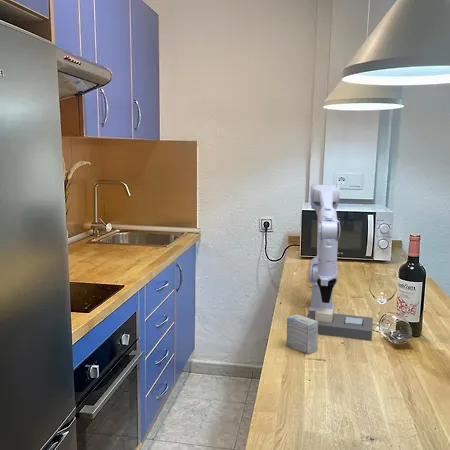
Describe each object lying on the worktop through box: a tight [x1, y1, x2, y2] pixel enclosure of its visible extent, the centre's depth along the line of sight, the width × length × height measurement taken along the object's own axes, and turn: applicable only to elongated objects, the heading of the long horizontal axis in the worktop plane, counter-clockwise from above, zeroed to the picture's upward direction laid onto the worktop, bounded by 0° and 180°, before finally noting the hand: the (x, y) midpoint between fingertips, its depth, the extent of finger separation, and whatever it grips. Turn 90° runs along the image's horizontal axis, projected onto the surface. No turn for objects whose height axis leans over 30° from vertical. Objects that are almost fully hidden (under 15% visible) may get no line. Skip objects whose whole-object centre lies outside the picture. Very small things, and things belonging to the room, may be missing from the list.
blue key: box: [345, 317, 363, 326], centre depth 144 cm, size 5×5×3 cm
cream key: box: [315, 308, 334, 323], centre depth 147 cm, size 5×5×3 cm
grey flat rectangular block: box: [306, 310, 374, 342], centre depth 145 cm, size 12×20×3 cm, turn 71°
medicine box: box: [286, 314, 319, 355], centre depth 131 cm, size 8×4×9 cm, turn 41°
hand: (325, 302), depth 146 cm, fingers closed
